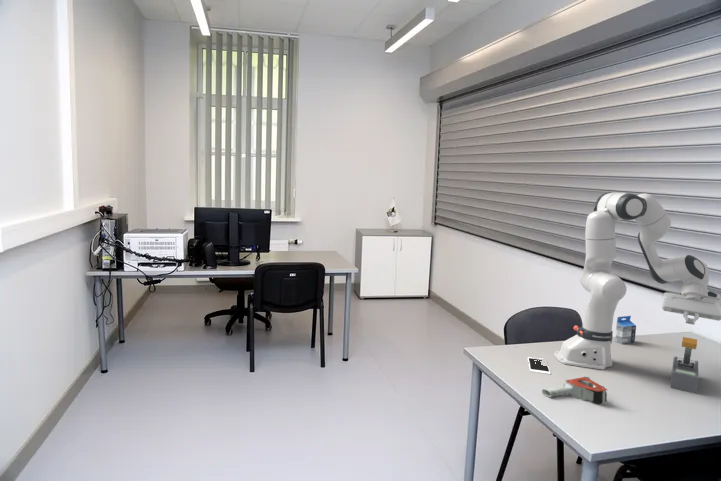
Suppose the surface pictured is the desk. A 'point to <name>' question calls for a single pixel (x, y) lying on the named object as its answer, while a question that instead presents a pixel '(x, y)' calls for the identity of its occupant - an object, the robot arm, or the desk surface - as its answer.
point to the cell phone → (537, 366)
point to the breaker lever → (688, 351)
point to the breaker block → (684, 376)
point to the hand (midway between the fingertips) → (690, 323)
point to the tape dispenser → (580, 390)
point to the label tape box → (625, 330)
